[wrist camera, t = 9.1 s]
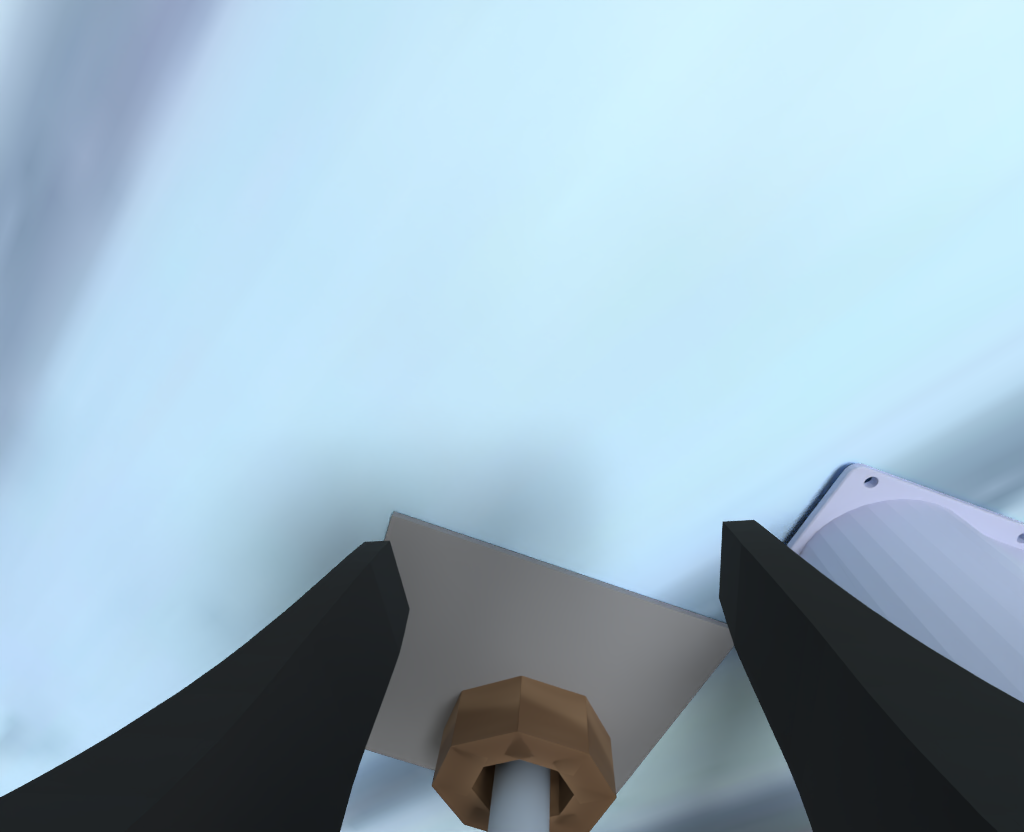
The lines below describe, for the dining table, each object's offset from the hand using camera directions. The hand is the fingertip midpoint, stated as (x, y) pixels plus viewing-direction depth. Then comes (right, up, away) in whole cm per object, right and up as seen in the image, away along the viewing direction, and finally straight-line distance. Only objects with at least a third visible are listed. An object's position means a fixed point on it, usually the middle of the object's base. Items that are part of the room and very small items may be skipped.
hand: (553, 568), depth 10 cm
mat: (-1, -12, +16) cm, 20 cm away
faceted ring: (0, -15, +17) cm, 23 cm away
